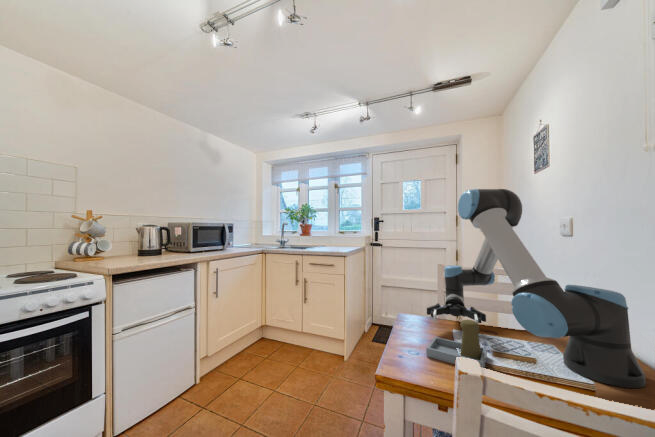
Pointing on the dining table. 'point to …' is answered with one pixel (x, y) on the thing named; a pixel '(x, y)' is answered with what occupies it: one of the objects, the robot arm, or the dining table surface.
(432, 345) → the trough
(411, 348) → the dining table surface
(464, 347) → the cork
